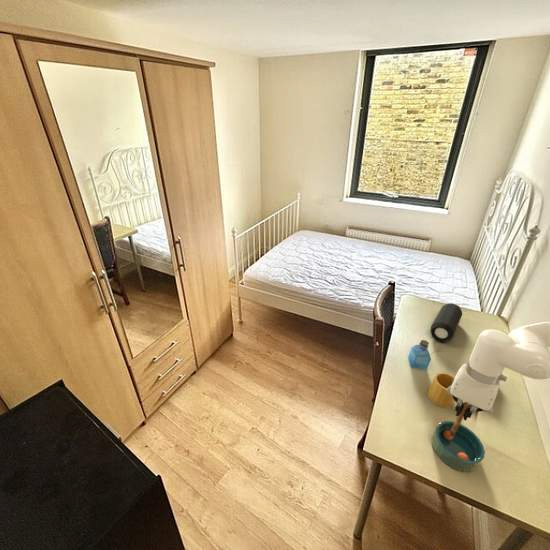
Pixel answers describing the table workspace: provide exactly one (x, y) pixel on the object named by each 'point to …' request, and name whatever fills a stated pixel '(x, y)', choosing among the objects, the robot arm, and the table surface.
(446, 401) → the utensil pot
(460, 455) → the dough ball
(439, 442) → the bowl
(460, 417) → the stirring stick
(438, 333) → the portable speaker
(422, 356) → the perfume bottle
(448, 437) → the dough ball
